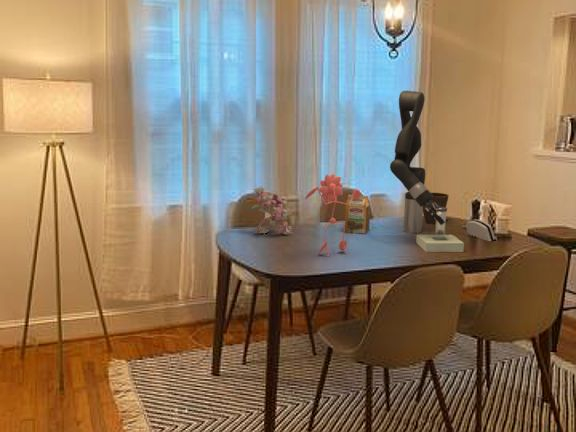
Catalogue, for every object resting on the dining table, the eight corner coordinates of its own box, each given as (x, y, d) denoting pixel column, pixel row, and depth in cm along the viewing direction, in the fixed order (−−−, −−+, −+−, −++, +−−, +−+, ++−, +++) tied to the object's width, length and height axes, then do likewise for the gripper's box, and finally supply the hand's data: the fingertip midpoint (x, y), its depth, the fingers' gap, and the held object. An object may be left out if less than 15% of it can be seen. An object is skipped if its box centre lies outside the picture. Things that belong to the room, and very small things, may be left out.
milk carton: (344, 233, 301) (345, 196, 297) (349, 229, 310) (350, 193, 307) (365, 234, 297) (366, 197, 294) (369, 230, 307) (370, 194, 304)
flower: (262, 239, 278) (284, 191, 279) (234, 226, 294) (254, 181, 295) (290, 251, 292) (310, 204, 293) (262, 238, 308) (281, 194, 309)
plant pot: (441, 220, 336) (443, 192, 333) (450, 225, 322) (452, 196, 318) (416, 220, 335) (417, 192, 332) (423, 225, 321) (425, 196, 317)
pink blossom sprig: (363, 252, 261) (364, 173, 255) (312, 259, 249) (313, 177, 243) (344, 246, 275) (345, 171, 269) (295, 252, 263) (295, 173, 257)
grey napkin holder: (497, 240, 288) (493, 222, 285) (490, 244, 286) (485, 225, 283) (475, 233, 303) (471, 215, 300) (468, 237, 302) (463, 219, 299)
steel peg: (433, 232, 274) (434, 206, 271) (443, 232, 274) (445, 206, 272) (436, 234, 269) (438, 208, 267) (446, 234, 269) (448, 208, 267)
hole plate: (416, 242, 281) (416, 234, 280) (451, 242, 282) (452, 234, 281) (425, 251, 264) (426, 243, 263) (463, 251, 265) (464, 243, 264)
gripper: (421, 190, 266) (446, 220, 262) (432, 187, 278) (455, 215, 274) (409, 201, 270) (433, 230, 265) (420, 197, 281) (443, 225, 277)
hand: (444, 222), depth 270 cm, fingers closed on steel peg, 4 cm apart
